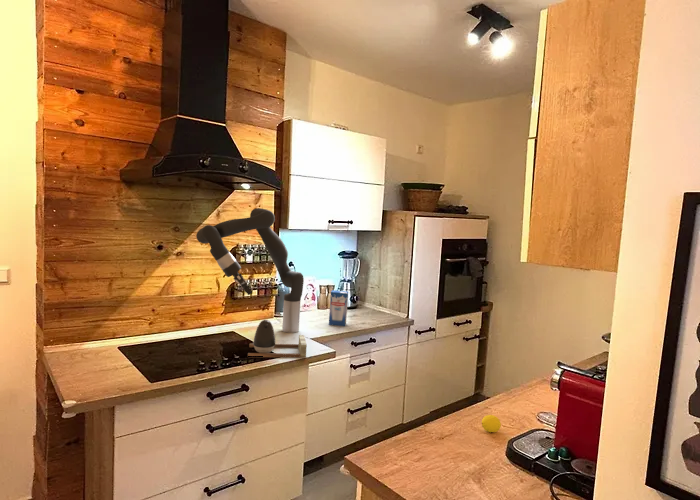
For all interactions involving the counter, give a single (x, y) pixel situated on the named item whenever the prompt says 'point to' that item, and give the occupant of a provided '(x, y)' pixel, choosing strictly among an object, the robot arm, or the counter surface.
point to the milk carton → (338, 308)
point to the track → (301, 346)
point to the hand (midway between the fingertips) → (249, 292)
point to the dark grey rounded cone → (264, 337)
